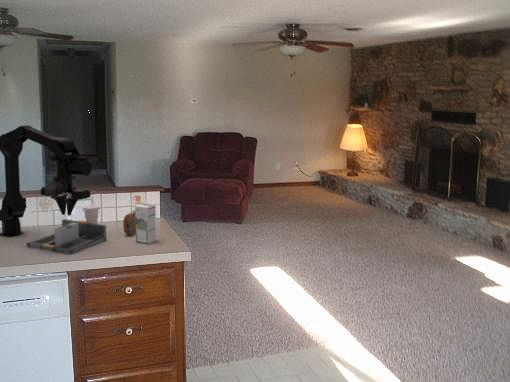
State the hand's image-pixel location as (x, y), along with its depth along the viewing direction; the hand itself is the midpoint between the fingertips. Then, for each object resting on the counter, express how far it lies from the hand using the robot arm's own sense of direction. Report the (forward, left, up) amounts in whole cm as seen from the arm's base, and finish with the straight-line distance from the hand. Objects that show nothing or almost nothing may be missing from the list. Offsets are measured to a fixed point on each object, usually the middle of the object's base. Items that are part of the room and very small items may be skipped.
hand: (66, 215), depth 203 cm
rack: (0, 0, -11) cm, 11 cm away
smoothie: (-5, +20, -11) cm, 23 cm away
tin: (+12, +25, -11) cm, 30 cm away
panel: (0, 0, -11) cm, 11 cm away
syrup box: (+24, +16, -11) cm, 31 cm away
